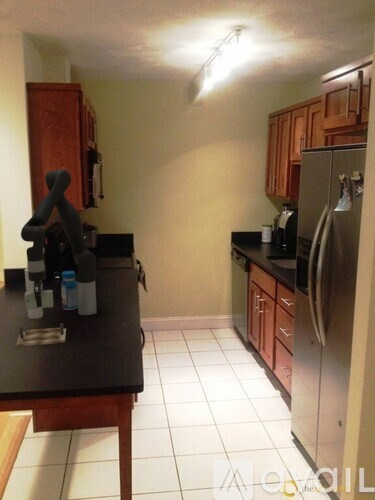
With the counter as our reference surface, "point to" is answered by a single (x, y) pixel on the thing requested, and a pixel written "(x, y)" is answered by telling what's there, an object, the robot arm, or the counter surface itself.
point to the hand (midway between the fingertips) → (39, 304)
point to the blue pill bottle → (69, 291)
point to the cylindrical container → (29, 288)
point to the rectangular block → (46, 300)
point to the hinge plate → (40, 342)
